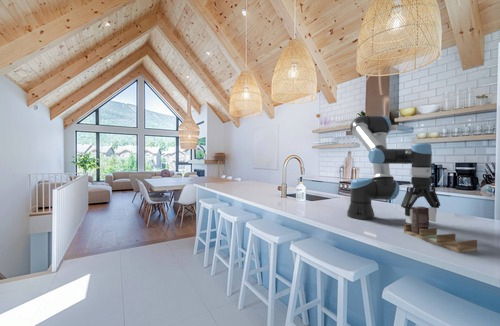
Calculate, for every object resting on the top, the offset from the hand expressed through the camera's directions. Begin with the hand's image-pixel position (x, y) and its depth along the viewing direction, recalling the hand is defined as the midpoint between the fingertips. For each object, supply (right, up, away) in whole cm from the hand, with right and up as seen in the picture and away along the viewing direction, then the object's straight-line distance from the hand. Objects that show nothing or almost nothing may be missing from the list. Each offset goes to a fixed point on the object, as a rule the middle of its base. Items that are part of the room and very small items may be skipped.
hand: (420, 222), depth 108 cm
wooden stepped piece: (+2, -6, -7) cm, 10 cm away
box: (0, -5, 0) cm, 5 cm away
